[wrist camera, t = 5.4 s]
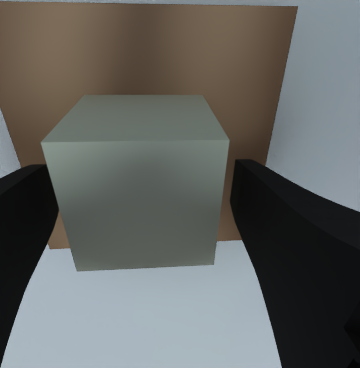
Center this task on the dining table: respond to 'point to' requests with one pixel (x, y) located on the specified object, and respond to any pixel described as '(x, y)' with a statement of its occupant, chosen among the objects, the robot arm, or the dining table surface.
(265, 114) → the base
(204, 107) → the block
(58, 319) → the dining table surface
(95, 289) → the dining table surface
